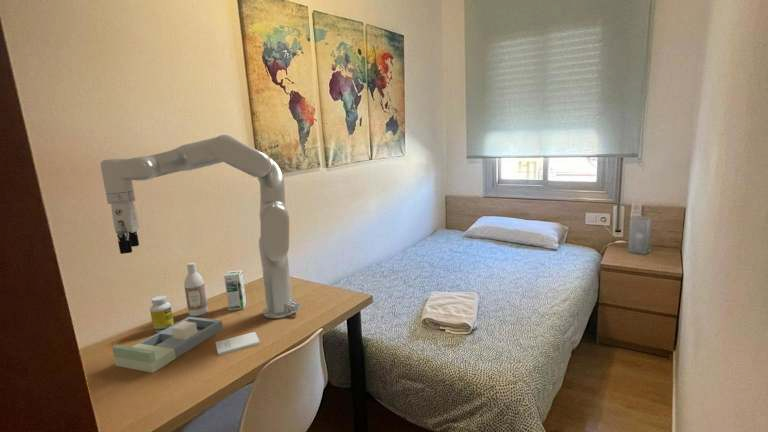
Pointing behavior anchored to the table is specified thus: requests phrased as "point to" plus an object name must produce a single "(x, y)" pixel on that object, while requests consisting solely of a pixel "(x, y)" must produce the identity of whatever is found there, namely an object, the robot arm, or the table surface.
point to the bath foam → (195, 292)
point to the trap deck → (163, 346)
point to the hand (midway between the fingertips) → (130, 249)
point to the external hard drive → (237, 343)
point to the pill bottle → (161, 313)
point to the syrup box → (235, 290)
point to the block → (184, 330)
